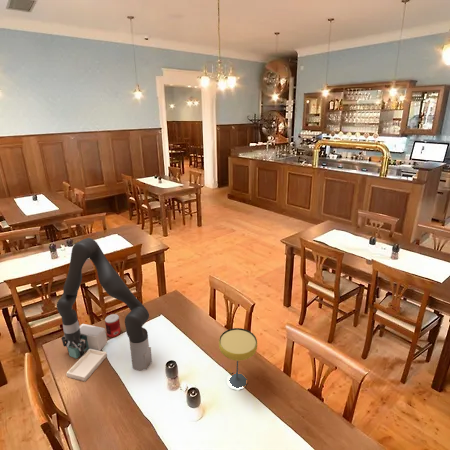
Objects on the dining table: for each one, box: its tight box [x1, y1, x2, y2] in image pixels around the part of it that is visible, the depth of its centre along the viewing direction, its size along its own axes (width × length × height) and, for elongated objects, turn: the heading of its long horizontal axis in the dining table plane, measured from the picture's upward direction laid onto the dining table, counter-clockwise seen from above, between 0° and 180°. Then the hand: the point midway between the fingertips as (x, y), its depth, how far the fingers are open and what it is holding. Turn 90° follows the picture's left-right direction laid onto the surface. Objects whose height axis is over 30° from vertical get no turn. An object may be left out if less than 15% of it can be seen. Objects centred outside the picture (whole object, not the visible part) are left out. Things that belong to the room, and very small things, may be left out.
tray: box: [66, 348, 108, 382], centre depth 162 cm, size 11×18×3 cm, turn 165°
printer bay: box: [79, 323, 108, 351], centre depth 176 cm, size 15×8×10 cm, turn 75°
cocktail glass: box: [218, 327, 258, 388], centre depth 150 cm, size 18×18×25 cm
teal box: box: [67, 336, 89, 359], centre depth 173 cm, size 5×13×7 cm, turn 158°
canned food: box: [104, 313, 122, 338], centre depth 185 cm, size 8×8×11 cm
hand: (76, 353), depth 169 cm, fingers open, 6 cm apart
